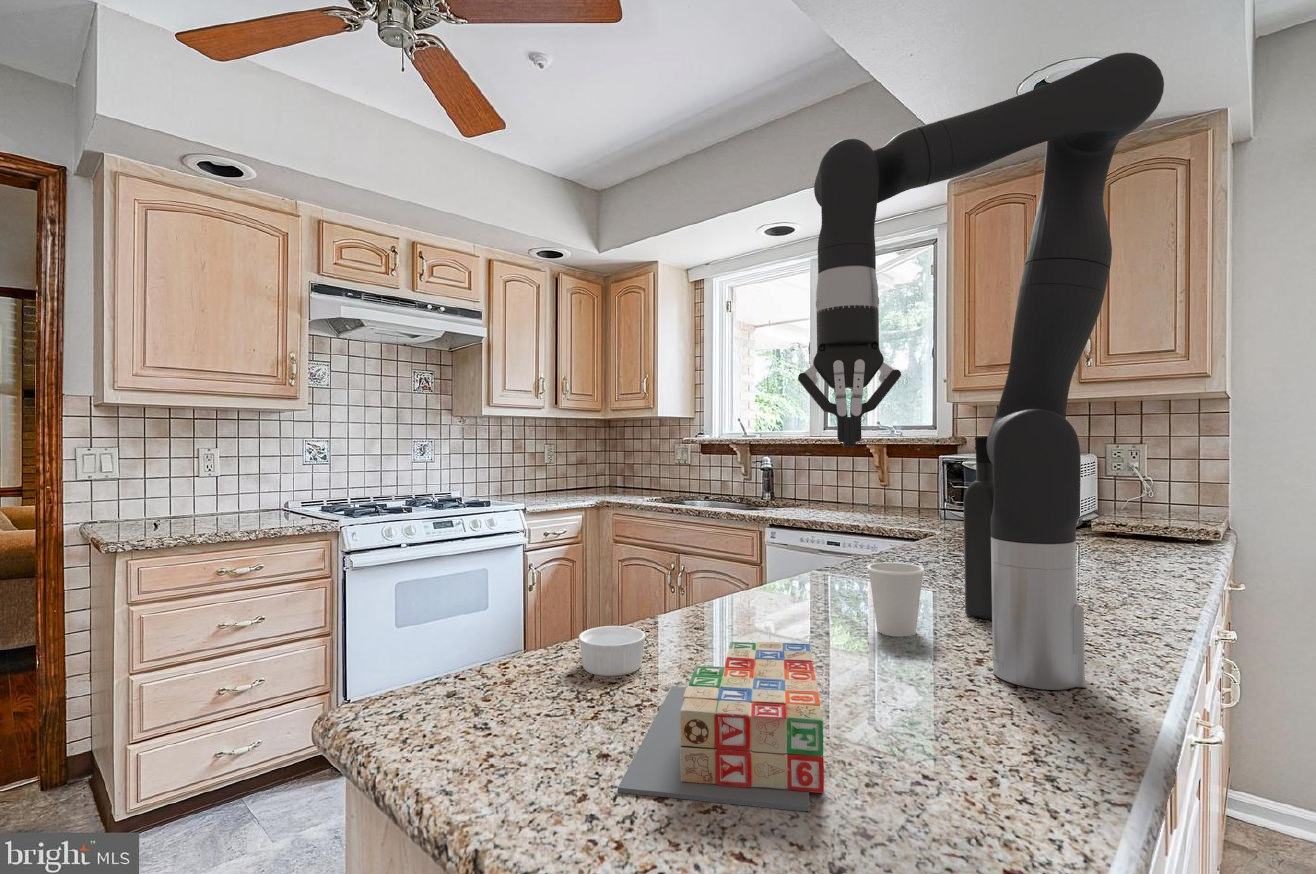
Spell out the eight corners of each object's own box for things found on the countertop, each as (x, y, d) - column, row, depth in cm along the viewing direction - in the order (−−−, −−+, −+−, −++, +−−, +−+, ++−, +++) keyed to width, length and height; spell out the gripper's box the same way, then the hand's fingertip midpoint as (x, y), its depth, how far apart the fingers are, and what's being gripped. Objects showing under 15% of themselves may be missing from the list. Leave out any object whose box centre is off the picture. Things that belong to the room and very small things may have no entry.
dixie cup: (895, 642, 98) (894, 574, 98) (856, 628, 106) (855, 565, 106) (937, 635, 102) (936, 569, 102) (897, 621, 109) (896, 560, 109)
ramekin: (659, 666, 90) (658, 633, 90) (610, 684, 83) (610, 649, 84) (613, 652, 96) (613, 622, 96) (565, 668, 90) (564, 635, 90)
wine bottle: (1012, 616, 112) (1009, 436, 112) (998, 622, 108) (995, 436, 108) (977, 610, 116) (975, 436, 116) (962, 616, 112) (959, 436, 113)
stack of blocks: (811, 697, 77) (704, 691, 79) (811, 642, 77) (704, 638, 79) (824, 794, 56) (677, 783, 58) (823, 719, 56) (677, 710, 58)
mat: (808, 699, 77) (807, 695, 77) (809, 811, 54) (809, 807, 54) (672, 689, 81) (671, 686, 81) (617, 792, 57) (617, 787, 57)
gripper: (898, 311, 87) (900, 445, 87) (793, 316, 89) (795, 446, 89) (907, 299, 79) (909, 446, 79) (793, 305, 82) (795, 447, 82)
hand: (849, 446), depth 84 cm, fingers closed
